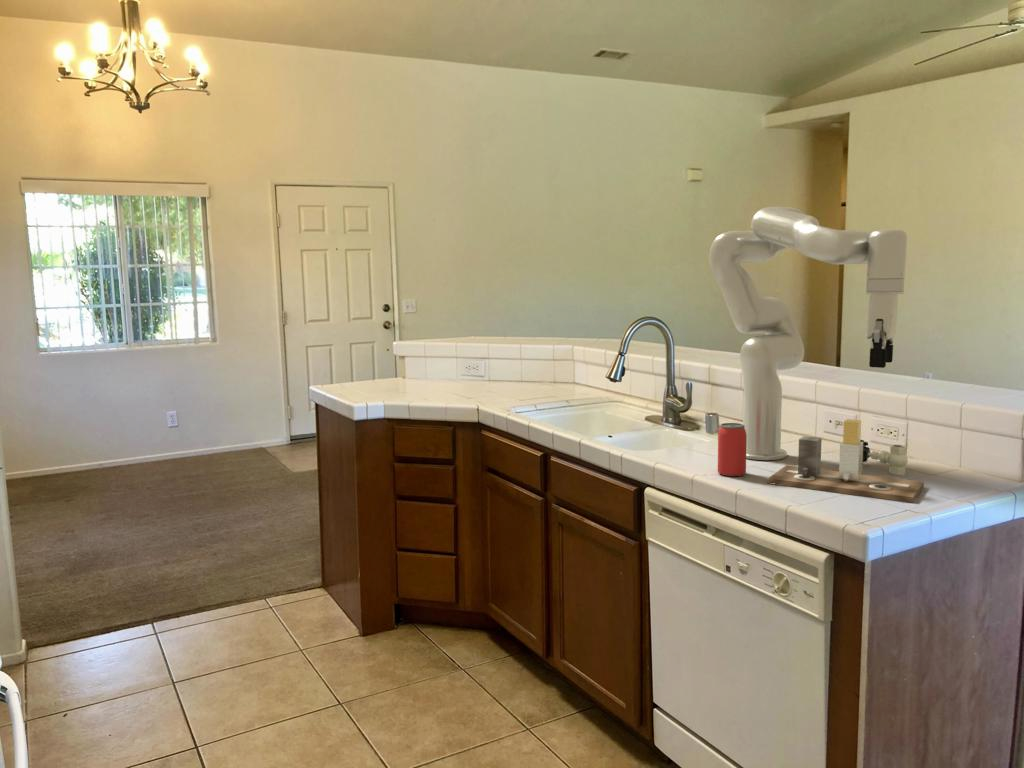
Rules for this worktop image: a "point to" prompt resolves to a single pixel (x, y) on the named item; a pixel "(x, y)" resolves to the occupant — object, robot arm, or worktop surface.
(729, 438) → the beer can
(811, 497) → the worktop surface
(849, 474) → the block
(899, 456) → the valve
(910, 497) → the bolt plate
